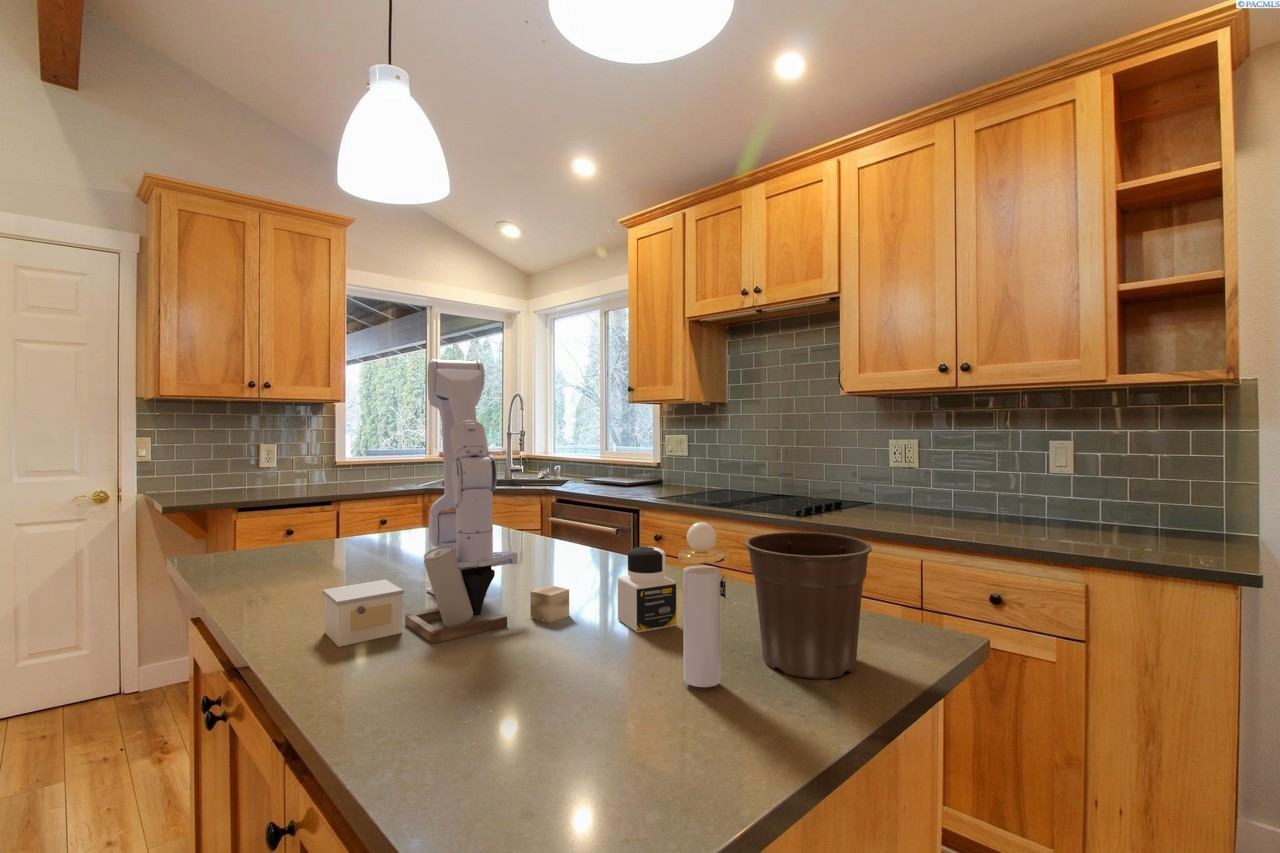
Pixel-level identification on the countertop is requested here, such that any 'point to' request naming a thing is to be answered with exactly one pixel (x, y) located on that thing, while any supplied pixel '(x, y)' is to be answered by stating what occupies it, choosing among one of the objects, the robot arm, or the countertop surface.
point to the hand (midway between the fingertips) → (475, 614)
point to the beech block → (549, 603)
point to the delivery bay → (434, 636)
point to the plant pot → (809, 600)
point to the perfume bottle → (702, 608)
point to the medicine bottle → (646, 592)
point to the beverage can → (448, 586)
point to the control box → (362, 612)
